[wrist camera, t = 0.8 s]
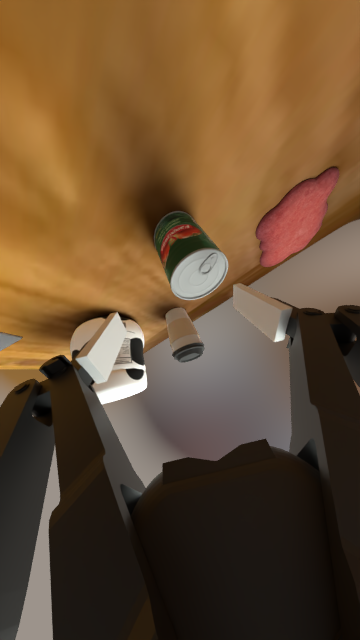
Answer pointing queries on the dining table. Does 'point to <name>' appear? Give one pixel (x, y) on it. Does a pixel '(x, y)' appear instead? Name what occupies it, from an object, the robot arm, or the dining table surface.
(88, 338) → the doce de leite jar
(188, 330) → the coffee cup
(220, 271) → the canned tomato
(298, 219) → the red flat irregular piece
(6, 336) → the slate board
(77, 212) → the dining table surface
